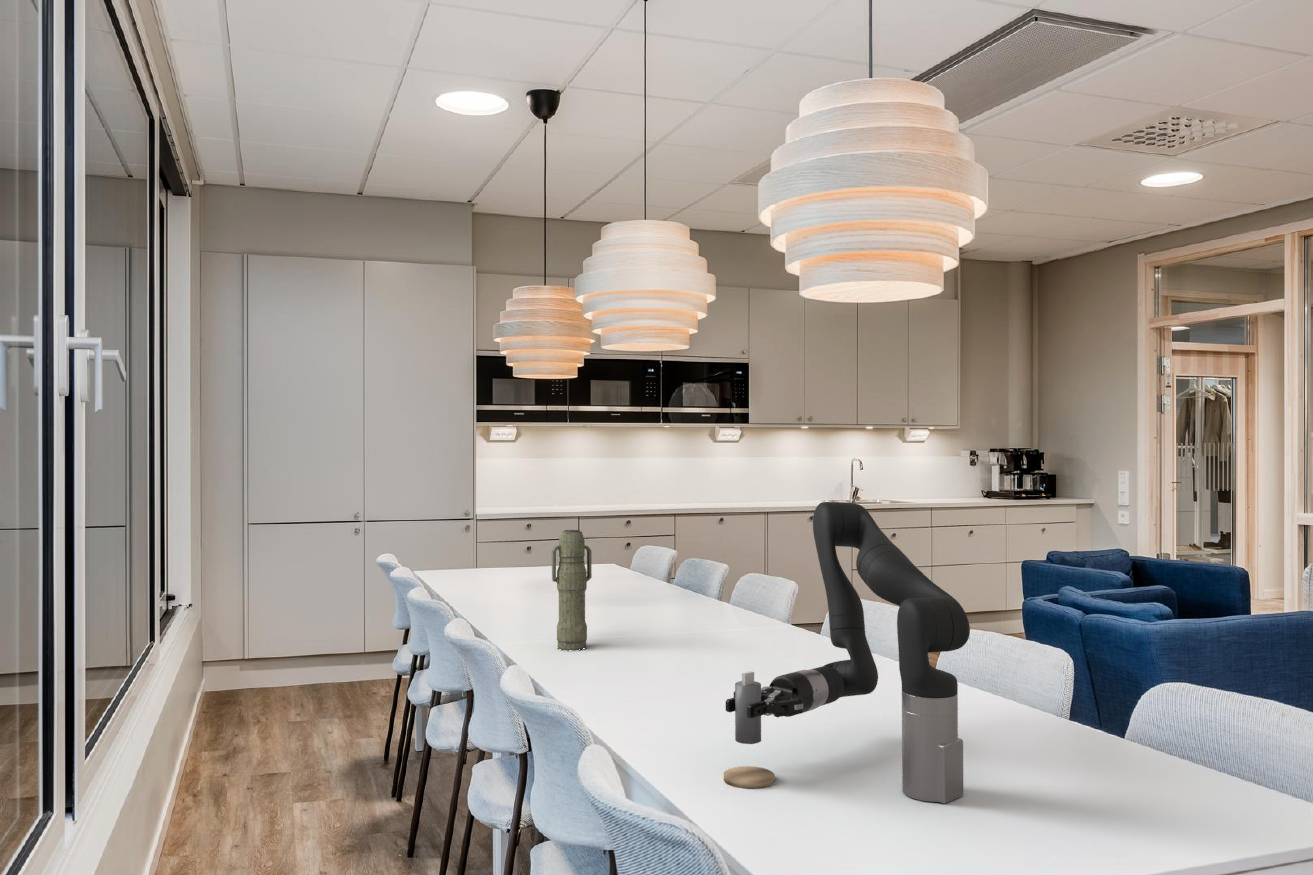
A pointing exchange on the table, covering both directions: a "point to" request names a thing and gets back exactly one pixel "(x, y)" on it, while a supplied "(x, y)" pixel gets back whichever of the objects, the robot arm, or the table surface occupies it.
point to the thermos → (571, 589)
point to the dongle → (744, 696)
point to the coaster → (749, 777)
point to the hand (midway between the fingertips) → (738, 708)
